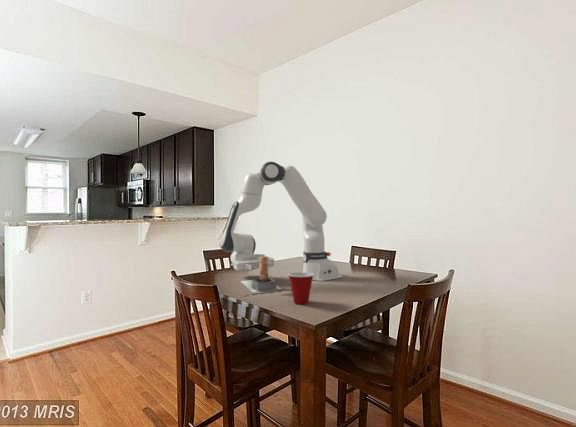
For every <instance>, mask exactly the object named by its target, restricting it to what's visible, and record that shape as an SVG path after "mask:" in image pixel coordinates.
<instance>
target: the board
mask: <svg viewBox="0 0 576 427" xmlns="http://www.w3.org/2000/svg"><path fill="white" fill-rule="evenodd" d="M240 282H241V283H242V284H243V286H244V287H246V288H247V289H248V290H249V291H250V292H251V294H252V295H251V296H258V294H260V295H266V293H268V294H274V293H275V292H277V293H282V292H283V291H282V290H283V289H282V287H280V286H279V285H277V281H276V280H275V279H274V278H272V277H270V276H268V281H267V282H260V277H259V278H258V277H257V278H252V279H250V280H241V281H240ZM281 289H282V290H281ZM274 290H275V291H274ZM267 291H268V292H267ZM256 292H257V293H256Z"/></svg>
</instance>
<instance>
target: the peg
mask: <svg viewBox="0 0 576 427" xmlns="http://www.w3.org/2000/svg"><path fill="white" fill-rule="evenodd" d="M268 257H269V256H267V257H260V258H259V268H258V269H259V278H260V282H267V281H268V277H269V267H268Z"/></svg>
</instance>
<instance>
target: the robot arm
mask: <svg viewBox="0 0 576 427" xmlns="http://www.w3.org/2000/svg"><path fill="white" fill-rule="evenodd" d="M276 183H280V184H281V185H282V186H283V187H284V189H285V190H286V192H287V194H288V196H289V197H290V198H291V200H292V203H294V205H295V206H296V208H297V209H298V210H299V212H300V213H301V214H302V215H301V217H302V228H303V229H302V230H303V231H302V232H303V252H302V253H303V257H302V258H303V268H302V273H313V274H314V276H313V279H312V281H318V282H323V281H330V280H336V279H342V278H343V277H344V276H343V274H342V273H339V268H338V265H337V264H336V263H335V262H333V261H332V260H331V259H330V258H328V257H331V256H332V254H331V252H327V251H325V234H324V229H323V228H324V227H323V225H324V224H325V223H326V221H327V218H328V215H327V212H326V210H325V208H323V206H322V205H321V202H319V200H318V198H316V196H315V195H314V194H313V192H312V190H311V189H310V187H309V186H308V184H307V182H306V180H305V179H304V177H303V176H302V175H301V173H300V171H298V169H297V168H296V167H295V166H294V165H287V166H282V164H281V165H280V164H279V163H277V162H276V161H267V162H265V163H264V164H263V165H262V166H261V168H260V170H259V172H258V173H252V172H251V173H248V174H246V175H245V177H244V180H243V182H242V186H241V191H240V195H239V198H238V200H237V201H235V202H234V203H233V204H232V206H231V208H230V211H229V214H228V216H227V219H226V223H225V225H224V228H223V232H222V234H221V237H220V239H219V248H221V249H222V251H223V252H224V253H231V254H230V266H231V267H233V269H234V270H235V271H247V272H253V271H255V270H257V269H260V268H259V258H260V257H268V268H271V267H274V266H275V259H274V258H272V257H270V256H266V255H265V254H260V253H259V254H257V253H256V254H255V250H256V248H257V247H256V246H257V244H256V243H257V242H256V239H255V238H254V236H253V235H252V234H247V233H237V232H235V233H234V231H235V228H236V227H237V226H236V225H237V222H238V219H239V217H240V216H242V215H243V214H245V213H250V212H254V211H255V210H257V209H258V208H259V207H260V205H261V202H262V196H263V190H264V187H265V186H270V185H274V184H276Z"/></svg>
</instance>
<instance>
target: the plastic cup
mask: <svg viewBox="0 0 576 427" xmlns="http://www.w3.org/2000/svg"><path fill="white" fill-rule="evenodd" d="M287 276H288V277H289V278H288V280H289V282H290V288H291V292H292V293H291V295H292V298H293V299H292V300H293V302H294V304H295V305H307V304H308V303H309V301H310V295H311V288H312V282H313V280H312V279H313V276H314V274H313V273H303V271H302V272H289V273H287Z"/></svg>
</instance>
